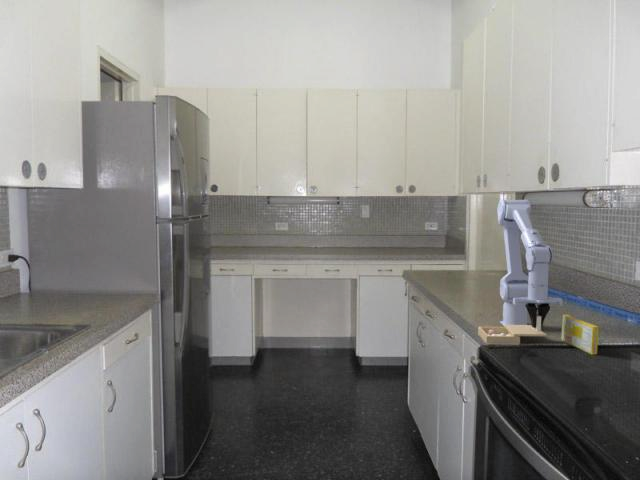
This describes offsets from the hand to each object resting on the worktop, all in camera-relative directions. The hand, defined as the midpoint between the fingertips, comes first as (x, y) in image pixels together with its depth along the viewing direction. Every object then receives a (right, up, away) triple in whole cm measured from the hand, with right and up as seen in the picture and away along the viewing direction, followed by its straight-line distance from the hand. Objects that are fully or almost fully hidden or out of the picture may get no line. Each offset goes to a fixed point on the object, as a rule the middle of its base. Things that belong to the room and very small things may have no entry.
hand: (536, 327), depth 172 cm
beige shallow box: (-12, -4, +1) cm, 12 cm away
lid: (-4, -1, 0) cm, 4 cm away
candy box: (+10, -5, -7) cm, 13 cm away
